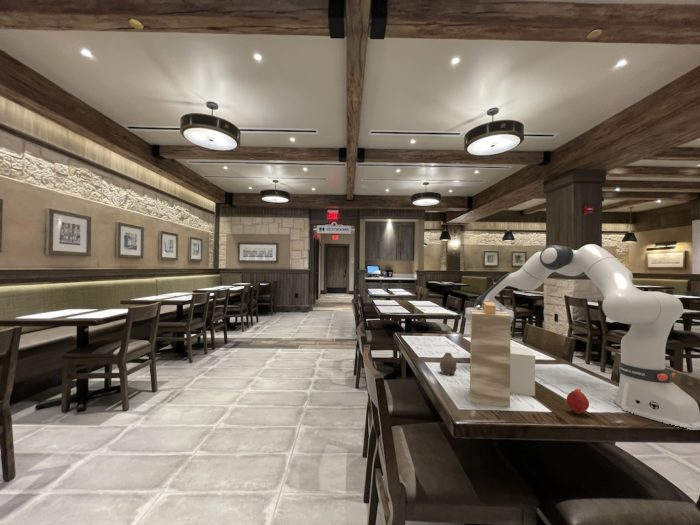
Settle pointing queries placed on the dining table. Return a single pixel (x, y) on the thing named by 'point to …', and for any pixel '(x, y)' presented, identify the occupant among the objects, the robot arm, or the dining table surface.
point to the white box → (522, 371)
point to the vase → (448, 364)
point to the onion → (577, 401)
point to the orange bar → (489, 307)
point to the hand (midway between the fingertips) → (489, 307)
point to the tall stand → (490, 358)
